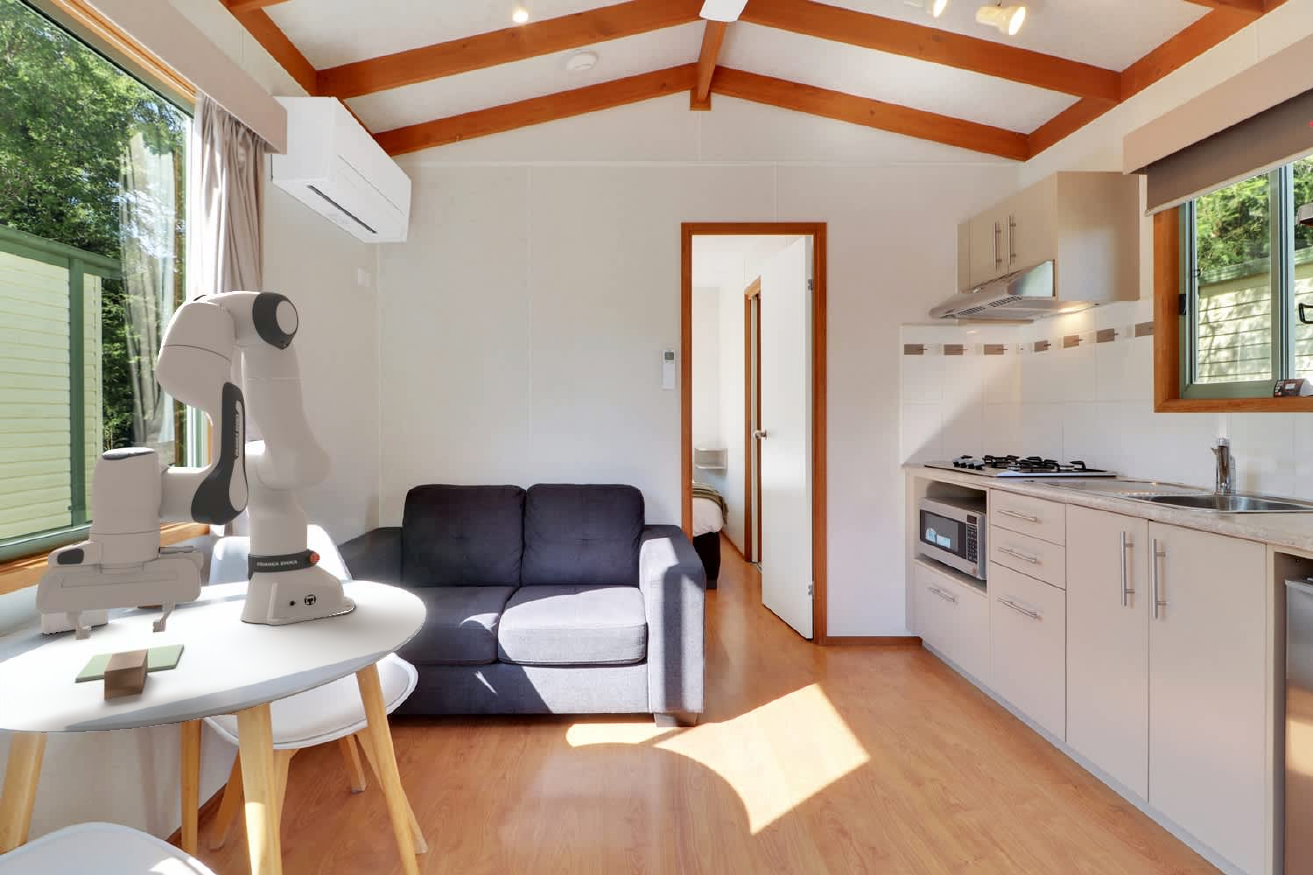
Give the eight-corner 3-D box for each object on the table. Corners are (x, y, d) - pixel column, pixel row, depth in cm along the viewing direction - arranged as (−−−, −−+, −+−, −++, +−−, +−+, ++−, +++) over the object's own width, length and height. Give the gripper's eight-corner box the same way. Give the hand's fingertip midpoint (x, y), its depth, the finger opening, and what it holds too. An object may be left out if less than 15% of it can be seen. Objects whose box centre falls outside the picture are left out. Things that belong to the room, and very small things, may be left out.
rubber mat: (183, 646, 120) (183, 643, 120) (174, 667, 110) (174, 664, 110) (93, 658, 114) (93, 655, 114) (75, 681, 103) (75, 678, 103)
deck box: (147, 675, 107) (147, 649, 107) (141, 694, 100) (141, 665, 100) (112, 681, 104) (112, 654, 104) (104, 700, 97) (104, 671, 97)
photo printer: (42, 636, 125) (42, 574, 125) (39, 631, 128) (39, 570, 128) (110, 624, 133) (110, 566, 133) (106, 620, 136) (106, 563, 136)
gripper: (206, 542, 110) (203, 622, 109) (47, 549, 99) (43, 637, 99) (202, 547, 104) (199, 631, 104) (33, 556, 94) (29, 649, 94)
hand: (122, 634), depth 101 cm, fingers open, 8 cm apart
